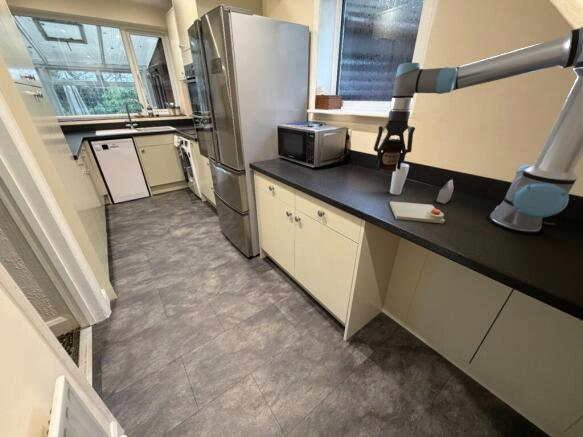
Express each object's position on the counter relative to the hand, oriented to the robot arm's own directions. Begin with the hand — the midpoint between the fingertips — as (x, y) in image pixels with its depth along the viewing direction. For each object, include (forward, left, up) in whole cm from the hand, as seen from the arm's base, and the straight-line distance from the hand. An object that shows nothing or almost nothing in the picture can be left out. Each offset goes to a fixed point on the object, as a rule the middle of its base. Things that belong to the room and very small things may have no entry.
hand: (388, 168), depth 101 cm
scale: (-13, +8, -17) cm, 22 cm away
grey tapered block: (-30, -9, -17) cm, 35 cm away
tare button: (-19, +13, -14) cm, 27 cm away
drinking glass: (-9, -14, -17) cm, 23 cm away
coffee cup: (0, 0, -1) cm, 1 cm away
